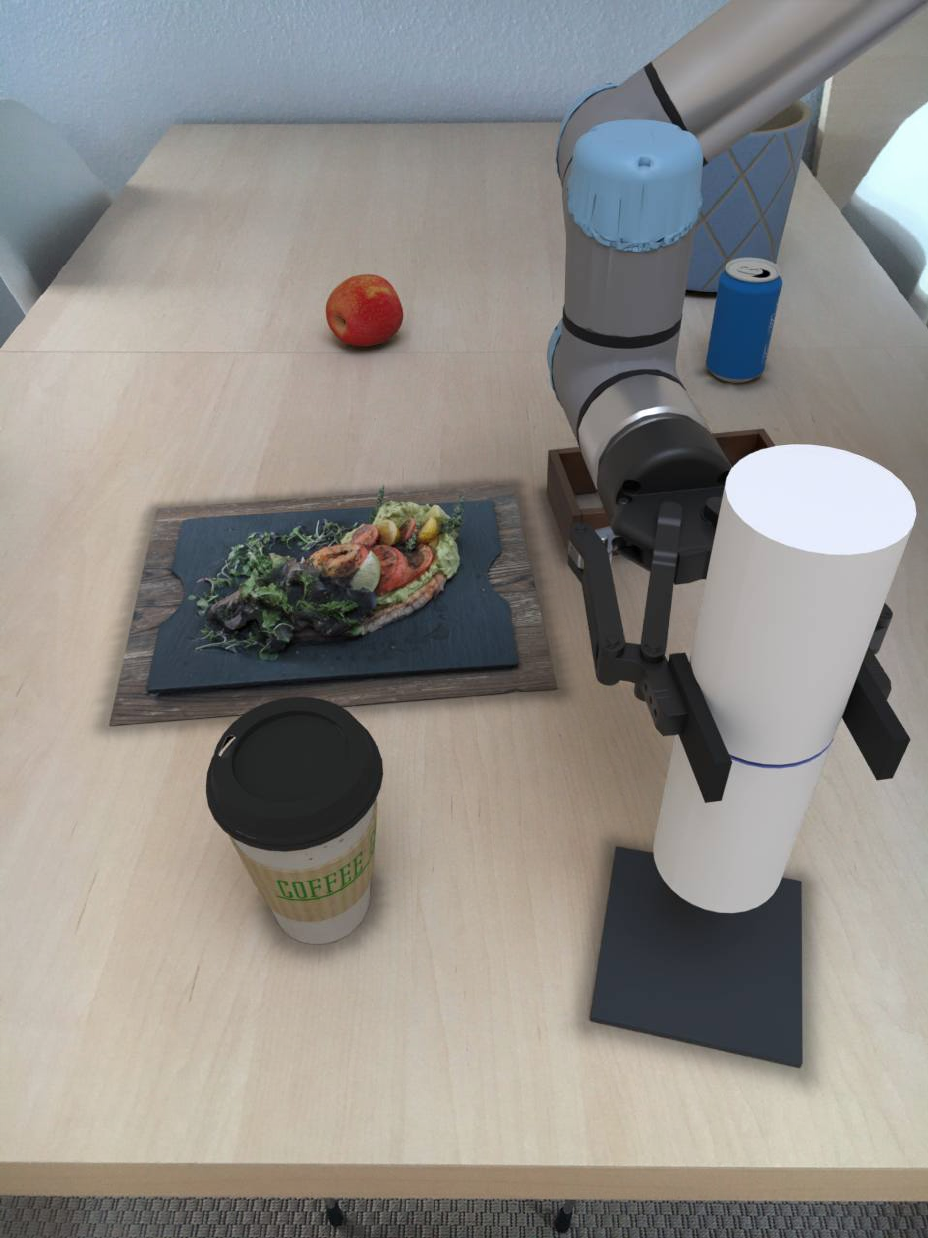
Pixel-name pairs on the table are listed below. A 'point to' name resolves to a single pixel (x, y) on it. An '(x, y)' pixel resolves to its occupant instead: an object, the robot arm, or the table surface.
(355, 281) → the apple
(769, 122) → the planter
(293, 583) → the plated dish
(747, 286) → the beverage can
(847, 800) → the table surface
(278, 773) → the coffee cup
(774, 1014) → the mat
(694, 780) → the cylindrical container
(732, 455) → the stand
